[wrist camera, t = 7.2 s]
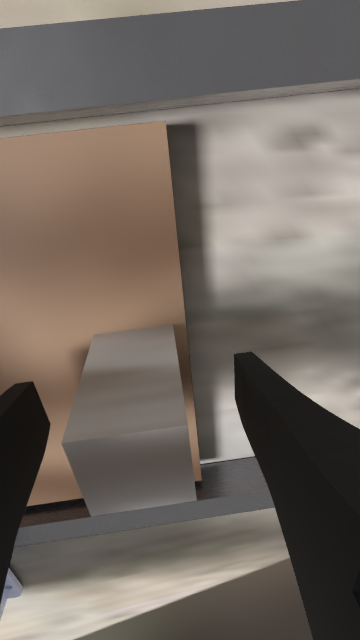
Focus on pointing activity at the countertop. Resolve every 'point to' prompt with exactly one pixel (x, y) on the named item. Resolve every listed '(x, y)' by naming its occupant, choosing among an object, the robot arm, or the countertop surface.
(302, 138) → the countertop surface
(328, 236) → the countertop surface
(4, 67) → the guide rails
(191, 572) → the countertop surface
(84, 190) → the sliding panel with handle
